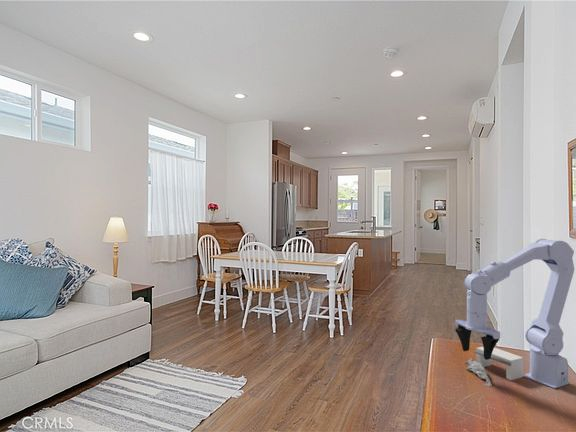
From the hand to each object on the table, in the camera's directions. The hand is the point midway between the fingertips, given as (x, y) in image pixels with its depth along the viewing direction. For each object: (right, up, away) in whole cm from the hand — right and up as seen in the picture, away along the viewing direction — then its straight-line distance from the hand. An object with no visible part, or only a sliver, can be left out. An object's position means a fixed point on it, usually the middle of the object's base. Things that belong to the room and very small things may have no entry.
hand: (476, 354), depth 118 cm
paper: (+2, -8, +1) cm, 8 cm away
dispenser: (+10, -7, +5) cm, 13 cm away
